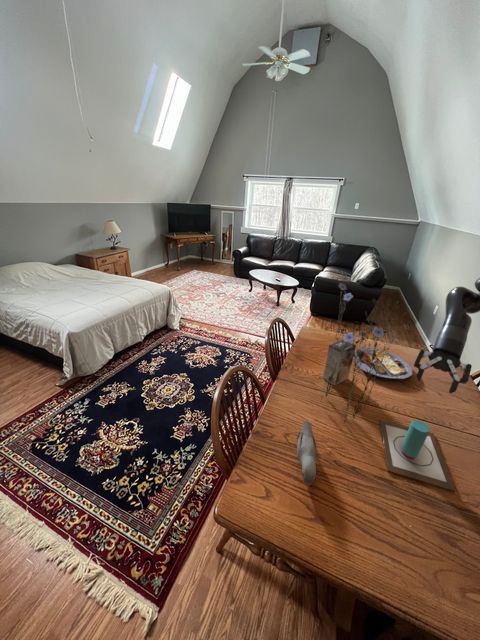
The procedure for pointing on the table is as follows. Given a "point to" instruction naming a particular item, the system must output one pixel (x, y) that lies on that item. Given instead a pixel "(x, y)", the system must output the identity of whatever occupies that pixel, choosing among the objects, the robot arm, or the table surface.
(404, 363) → the food plate
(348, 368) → the coffee box
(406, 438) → the cylinder
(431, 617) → the table surface
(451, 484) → the picture frame
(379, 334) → the wildflower
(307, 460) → the decorative bird
